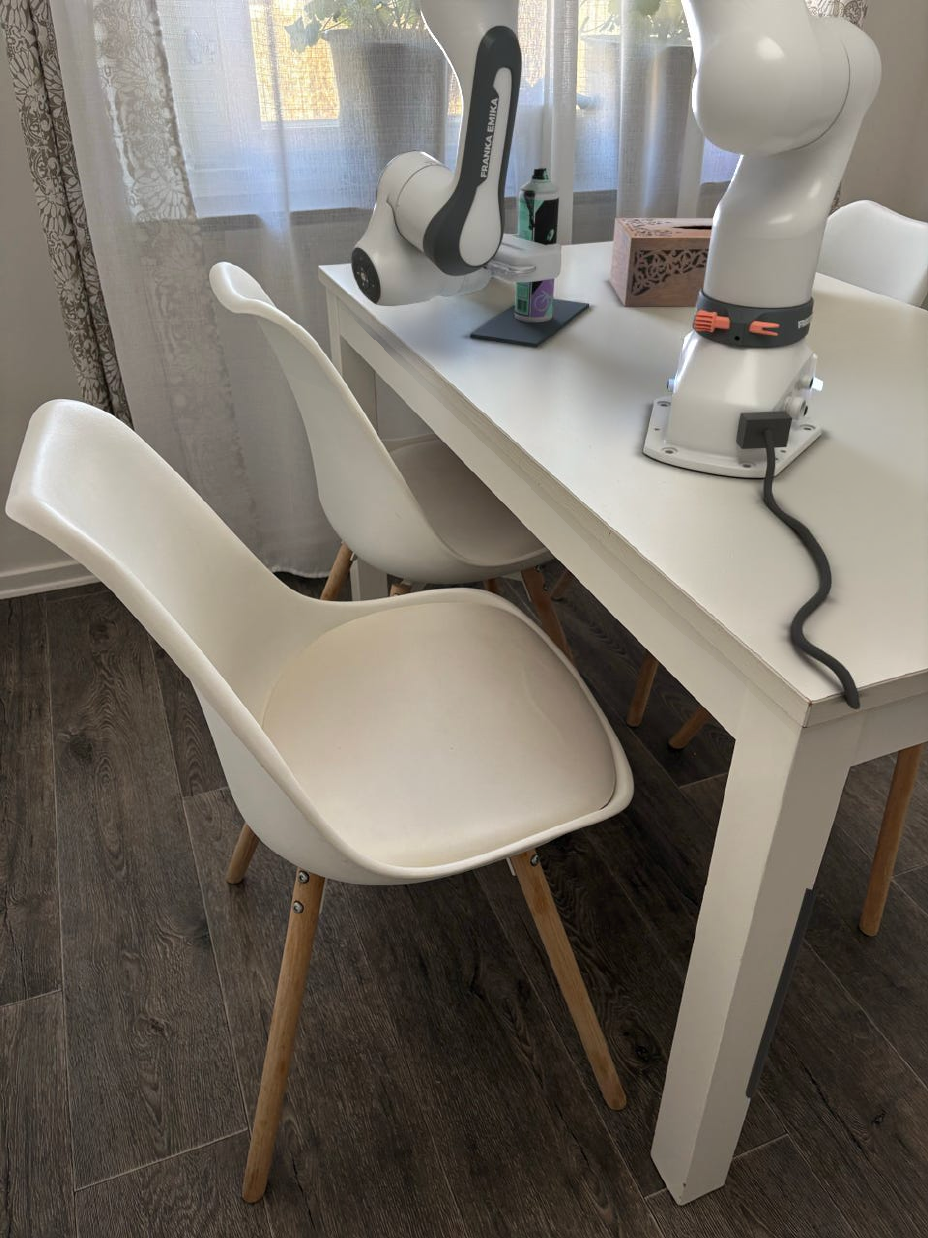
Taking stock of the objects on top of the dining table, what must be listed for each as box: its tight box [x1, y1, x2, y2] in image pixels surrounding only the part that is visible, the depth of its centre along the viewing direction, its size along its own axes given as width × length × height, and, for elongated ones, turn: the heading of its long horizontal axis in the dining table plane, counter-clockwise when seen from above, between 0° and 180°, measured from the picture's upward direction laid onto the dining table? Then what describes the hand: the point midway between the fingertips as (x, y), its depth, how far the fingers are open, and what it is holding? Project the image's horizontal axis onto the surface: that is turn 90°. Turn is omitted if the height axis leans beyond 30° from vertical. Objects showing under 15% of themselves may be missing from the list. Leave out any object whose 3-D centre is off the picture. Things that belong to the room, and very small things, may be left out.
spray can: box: [514, 167, 560, 322], centre depth 137 cm, size 6×6×20 cm
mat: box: [469, 298, 590, 348], centre depth 142 cm, size 22×10×1 cm, turn 155°
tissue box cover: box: [609, 217, 713, 307], centre depth 153 cm, size 26×14×10 cm, turn 92°
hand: (541, 244), depth 137 cm, fingers closed on spray can, 5 cm apart
